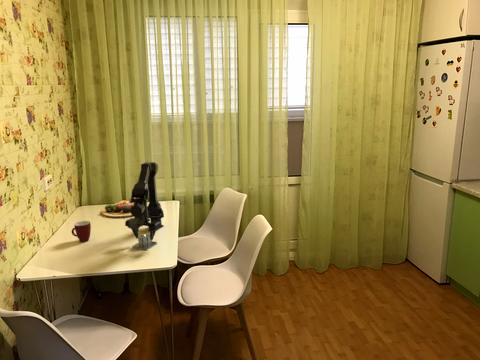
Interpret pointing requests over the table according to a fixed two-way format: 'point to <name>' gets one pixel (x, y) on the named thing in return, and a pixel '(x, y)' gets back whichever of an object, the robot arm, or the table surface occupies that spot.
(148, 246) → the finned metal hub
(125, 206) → the wooden plate with food
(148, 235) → the hub ring
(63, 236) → the table surface
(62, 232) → the table surface
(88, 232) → the mug
